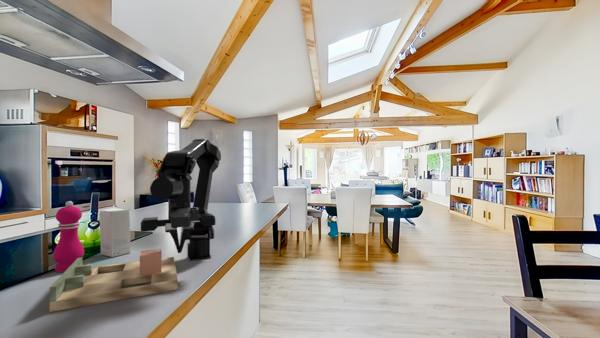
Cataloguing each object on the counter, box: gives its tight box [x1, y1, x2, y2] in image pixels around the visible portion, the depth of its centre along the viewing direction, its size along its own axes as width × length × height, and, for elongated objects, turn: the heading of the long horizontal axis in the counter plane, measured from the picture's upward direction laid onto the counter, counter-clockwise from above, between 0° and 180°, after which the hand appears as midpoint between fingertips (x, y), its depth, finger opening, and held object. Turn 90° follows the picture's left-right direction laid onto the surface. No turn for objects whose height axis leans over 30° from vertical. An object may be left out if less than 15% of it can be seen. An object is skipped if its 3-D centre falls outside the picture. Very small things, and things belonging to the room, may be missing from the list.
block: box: [139, 248, 163, 275], centre depth 75 cm, size 5×5×5 cm
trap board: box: [49, 256, 179, 313], centre depth 72 cm, size 24×22×5 cm
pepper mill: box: [52, 200, 85, 273], centre depth 83 cm, size 7×7×20 cm
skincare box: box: [99, 207, 131, 258], centre depth 98 cm, size 8×7×16 cm
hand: (179, 252), depth 78 cm, fingers closed
